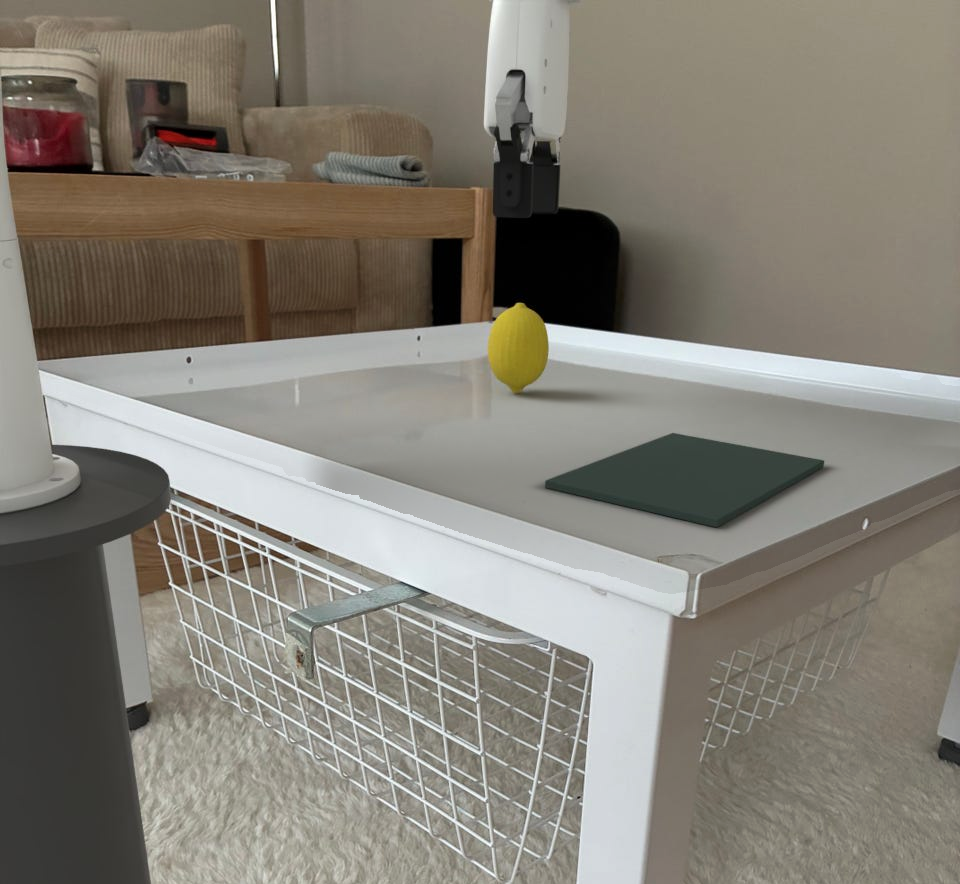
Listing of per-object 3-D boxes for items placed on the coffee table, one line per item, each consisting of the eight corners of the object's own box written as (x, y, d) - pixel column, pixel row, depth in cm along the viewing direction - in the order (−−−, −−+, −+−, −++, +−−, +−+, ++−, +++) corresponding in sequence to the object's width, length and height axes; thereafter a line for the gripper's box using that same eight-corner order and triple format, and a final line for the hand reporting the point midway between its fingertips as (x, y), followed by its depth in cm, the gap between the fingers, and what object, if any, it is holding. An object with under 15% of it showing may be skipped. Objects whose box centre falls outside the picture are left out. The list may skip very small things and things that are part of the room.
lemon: (540, 401, 88) (545, 307, 85) (480, 396, 89) (482, 304, 86) (550, 390, 93) (556, 301, 89) (494, 385, 94) (497, 297, 91)
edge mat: (717, 527, 57) (718, 519, 57) (544, 487, 63) (545, 480, 63) (823, 467, 70) (824, 460, 70) (671, 439, 76) (672, 432, 76)
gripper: (517, -3, 86) (511, 210, 93) (456, -41, 71) (454, 217, 78) (602, -5, 84) (588, 213, 91) (557, -44, 69) (545, 221, 76)
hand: (526, 215), depth 85 cm, fingers open, 9 cm apart
